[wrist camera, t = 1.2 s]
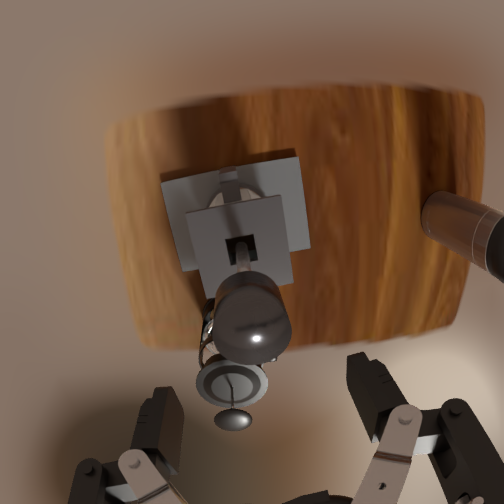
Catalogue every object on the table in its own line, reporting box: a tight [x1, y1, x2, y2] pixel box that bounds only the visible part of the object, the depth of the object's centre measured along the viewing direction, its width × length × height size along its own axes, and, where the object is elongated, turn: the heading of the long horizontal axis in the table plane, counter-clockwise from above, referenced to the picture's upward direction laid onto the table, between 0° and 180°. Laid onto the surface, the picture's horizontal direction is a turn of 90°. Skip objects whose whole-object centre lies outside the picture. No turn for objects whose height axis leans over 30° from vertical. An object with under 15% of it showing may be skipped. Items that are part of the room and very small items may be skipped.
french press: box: [196, 298, 277, 431], centre depth 40 cm, size 12×9×23 cm
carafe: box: [185, 165, 294, 299], centre depth 36 cm, size 9×12×15 cm
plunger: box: [212, 242, 292, 365], centre depth 23 cm, size 4×4×15 cm
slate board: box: [160, 156, 310, 272], centre depth 44 cm, size 20×14×1 cm
